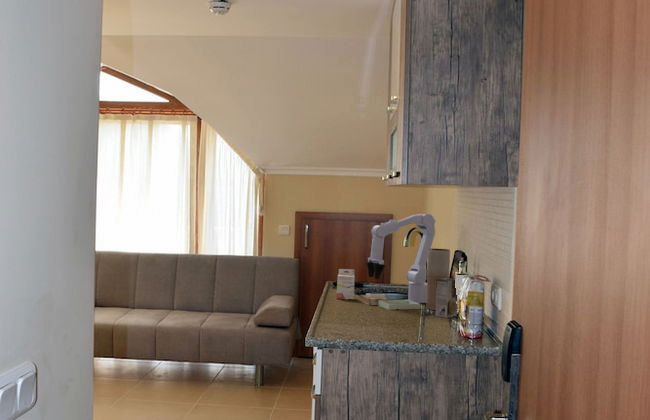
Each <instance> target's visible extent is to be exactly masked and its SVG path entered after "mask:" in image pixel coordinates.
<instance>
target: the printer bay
mask: <svg viewBox="0 0 650 420" xmlns="http://www.w3.org/2000/svg"><path fill="white" fill-rule="evenodd" d="M388 299H389V298H387V297H385V298H371V299H370V298H368V297H366V294H359V295H358V302H360V303H363V304H366V305H368V306H378V301H389V300H388Z"/></svg>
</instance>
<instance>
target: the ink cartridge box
mask: <svg viewBox="0 0 650 420" xmlns="http://www.w3.org/2000/svg"><path fill="white" fill-rule="evenodd" d="M355 277H356V276H355V269H350V268H339V269H338V274H337V281H336V299H337V300H348V299H353V300H354V298H355V279H356V278H355Z"/></svg>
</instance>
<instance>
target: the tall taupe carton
mask: <svg viewBox="0 0 650 420" xmlns="http://www.w3.org/2000/svg"><path fill="white" fill-rule="evenodd" d="M450 258H451V249H447V248H431V249H428V258H427V273H426V285H427V301H426V303H425V304H426V305H425V306H426V310H429V311H436V285H437V279H443V278H450V265H451V264H450V263H451V259H450Z"/></svg>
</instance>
